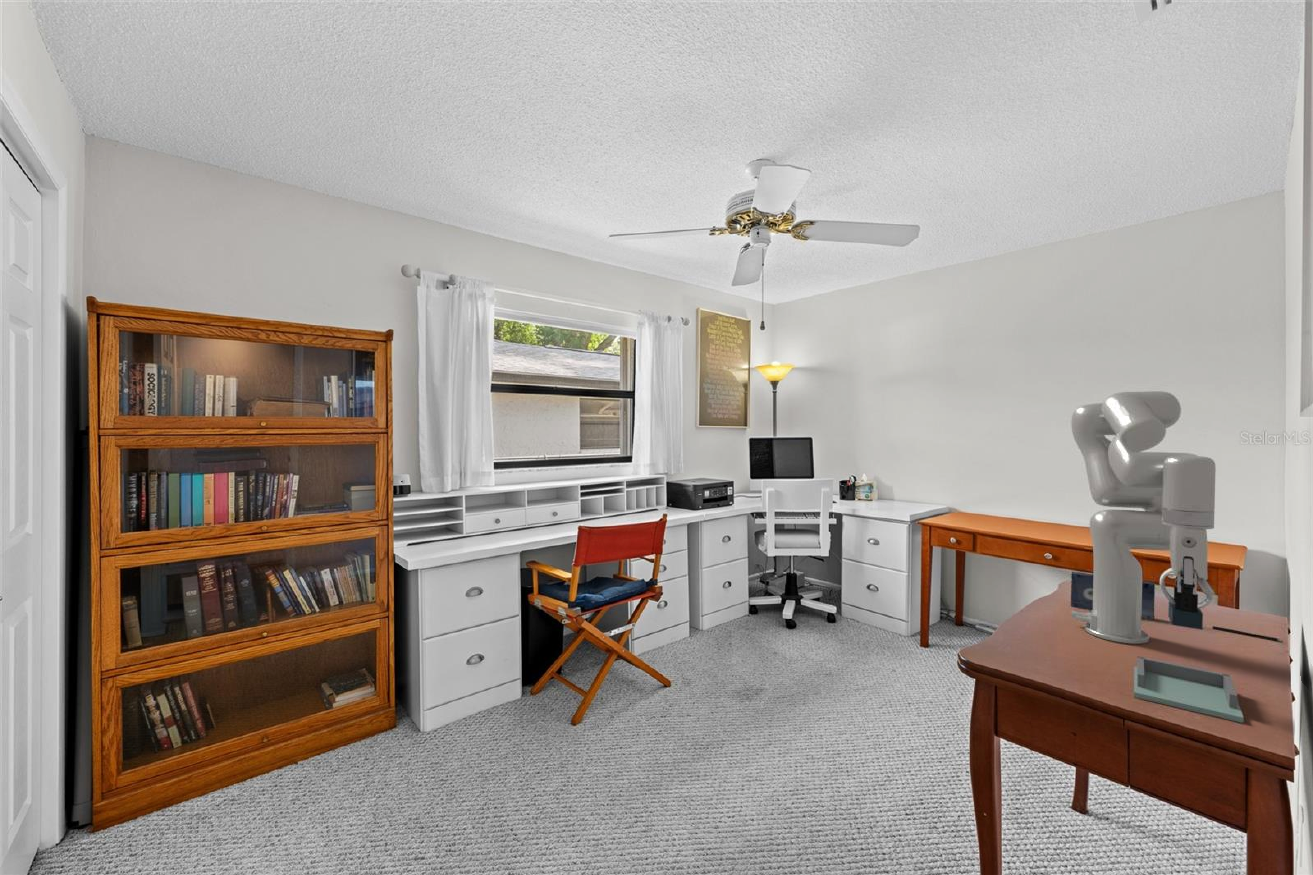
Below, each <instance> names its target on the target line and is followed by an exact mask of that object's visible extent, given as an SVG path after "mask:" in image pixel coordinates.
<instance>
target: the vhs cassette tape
mask: <svg viewBox="0 0 1313 875" xmlns="http://www.w3.org/2000/svg"><path fill="white" fill-rule="evenodd" d="M1070 575H1071V577H1070V578H1071V582H1070V583H1071V584H1070V607H1072V608H1077V609H1082V610H1087V609H1088V611H1092V610H1093V573H1092V574H1091V573H1084V572H1078V571H1073V570H1072V571H1071V574H1070ZM1155 586H1156V584H1155V582H1148V581H1144V580H1142V613H1141V618H1144V619H1143V620H1147V619H1149V620H1148V621H1154V620H1155V594H1156V592H1155V589H1156V588H1155Z"/></svg>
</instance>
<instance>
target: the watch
mask: <svg viewBox="0 0 1313 875" xmlns="http://www.w3.org/2000/svg"><path fill="white" fill-rule="evenodd" d="M1170 574H1173V571H1172V567H1170V568H1167V569H1166V570H1165V571H1163V573H1161V575H1160V576H1159V577H1160V578H1159V583H1158V584H1159V587H1160V589H1161V591H1162V593H1163V595H1164V597H1165V598H1166V599H1167V600H1168V615H1167V616H1168V619H1169V621H1170V623H1171V625H1172V626H1176V627H1177V626H1178V627H1183V628H1190V629H1197V630H1203V624H1204V622H1203V621H1204V613H1203V612H1202V609H1204V608H1206V607H1207V606H1209V605H1210V603H1212V601H1213V599H1214V597H1213V595H1216V593H1215V591H1214V589H1213V588H1212V586H1211V585H1210V584H1209V582H1208V581H1207V580H1205V581H1203V580H1202V579H1203V578H1199V576H1198V574H1197V586H1198V588H1200V589H1201V591H1202V593H1203V594H1204V595H1205V596H1206V598H1205V599H1204V600H1203V601H1202V602H1198V613H1197V612H1190V611H1184V610H1177V609H1175V601H1174V596H1172V595H1171V594H1170V593H1169V591H1168V590H1167V588H1166V583H1165V582H1166V581H1165V579H1166V577H1167V576H1168V575H1170ZM1193 578H1194V575H1193Z"/></svg>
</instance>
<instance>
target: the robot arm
mask: <svg viewBox="0 0 1313 875" xmlns="http://www.w3.org/2000/svg"><path fill="white" fill-rule="evenodd" d="M1181 413H1182V408H1181V404H1180V401H1179V399H1178V398H1177V397H1176V396H1175V395H1174V394H1172V393H1171V392H1167V391H1163V390H1162V391H1161V390H1160V391H1158V390H1157V391H1156V390H1155V391H1123V392H1117V393H1114V394H1111V395H1110V396H1108V397H1106V398H1105V399H1104V400H1103V402H1102V403H1099V402H1098V403H1090V404H1084V405H1082V406H1079V407H1078V408H1076V409H1075V410H1074V411H1073V412H1072V414H1071V415H1072V416H1071V420H1070V423H1071V432H1072V436H1073V440H1074V442H1075V443H1076V445H1077V448H1078V449H1079V450H1080V452H1081V455H1082V457H1083V461H1084V464H1085V469H1086V475H1087V479H1088V480H1087V481H1088V485H1089V491H1090V495H1091V497H1092V500H1093V501H1094V503H1095V504H1097V505H1099V506H1102V507H1108V508H1109V507H1110V508H1124V509H1103V510H1099V511H1096V512H1095V513H1094V514H1092V516H1090V520H1089V531H1090V536H1091V542H1092V549H1093V550H1092V551H1093V552H1092V553H1093V572H1092V574H1093V610H1090V611H1091V612H1089V611H1087V612H1080V611H1075V610H1071V613H1070V614H1071V615H1070V617H1071V619H1074V620H1075V621H1078V622H1085V624H1084V629H1085V631H1086V632H1087V633H1089V634H1091V635H1092V636H1095V637H1098V638H1100V639H1103V640H1107V641H1112V642H1114V643H1115V642H1117V643H1122V644H1133V645H1141V644H1146V643H1147V644H1148V642H1149V641H1150V635H1149V634H1148V633H1147V632H1145V631H1144V630H1142V619H1141V613H1142V581H1143V568H1142V565H1141V563H1140V562H1139V561H1138V559H1137V558H1136V557H1135V556H1134V555H1133V554H1132V553H1131V550H1145V551H1147V550H1148V551H1161V552H1162V551H1163V552H1165V551H1169V557H1170V566H1171V567H1170V568H1172V571H1173V572H1172V574H1173V576H1174V577H1175V586H1173V598H1174V601H1175V609H1177V610H1184V611H1190V612H1197V613H1198V604H1199V594H1198V593H1197V592H1198V584H1197V574H1198V576H1199V578H1203V579H1202V580H1203V581H1205V580H1206V581H1207V580H1208V577H1209V576H1208V547H1209V546H1208V532H1207V530H1212V529H1213V530H1214V529H1215V510H1216V509H1215V508H1216V507H1215V506H1216V504H1215V503H1216V502H1215V501H1216V500H1215V499H1216V471H1217V470H1216V462H1215V460H1214V459H1213V458H1211V457H1207V456H1202V455H1197V454H1194V453H1189V452H1159V451H1158V452H1157V451H1156V452H1155V451H1154V452H1153V451H1147V450H1150V449H1153V448H1154V447H1156V446H1157V445H1160V443H1161V442H1162V441H1163V440H1164V438H1165V437H1166V435H1167V434H1166V433H1167V429H1168V428H1170V427H1173V425H1175V424H1176V423H1177V422H1178V421H1179V420H1180V417H1181ZM1106 436H1114V437H1113V438H1112V439H1111V440H1110V439H1109V438H1107V437H1106ZM1125 508H1126V509H1125ZM1127 508H1129V509H1127ZM1131 509H1132V510H1131ZM1135 509H1143V510H1135ZM1193 575H1194V578H1193Z"/></svg>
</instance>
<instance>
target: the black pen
mask: <svg viewBox="0 0 1313 875" xmlns="http://www.w3.org/2000/svg"><path fill="white" fill-rule="evenodd" d="M1212 630H1216V631H1221V632H1227V633H1231V634H1237V635H1242V636H1245V637H1246V636H1247V637H1251V638H1255V639H1256V638H1257V639H1262V640H1267V641H1273V642H1277V643H1279V642H1280V643H1284V641H1283V639H1280V638H1278V637H1273V636H1267V635H1262V634H1261V635H1260V634H1256V633H1252V632H1245V631H1241V630H1236V629H1230V628H1225V627H1219V626H1213V625H1212Z"/></svg>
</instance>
